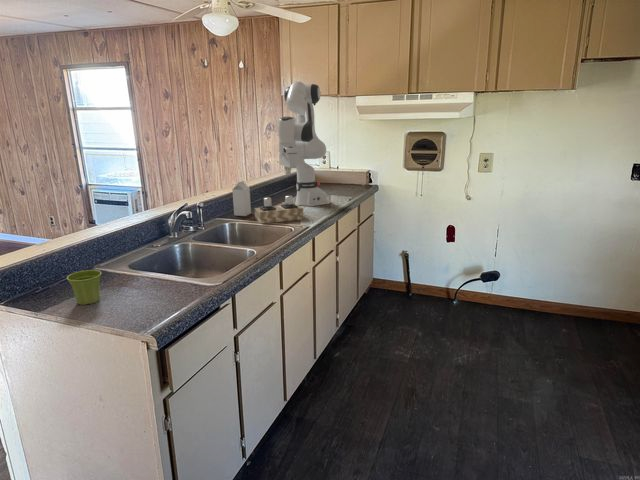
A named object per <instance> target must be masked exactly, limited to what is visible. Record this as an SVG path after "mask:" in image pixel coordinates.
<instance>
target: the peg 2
mask: <svg viewBox="0 0 640 480" xmlns="http://www.w3.org/2000/svg"><path fill="white" fill-rule="evenodd" d="M284 200H285V201H284V202H285V204H286V207H287V206H293V204H294V198H293V195H285V197H284Z"/></svg>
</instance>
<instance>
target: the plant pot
mask: <svg viewBox="0 0 640 480" xmlns="http://www.w3.org/2000/svg"><path fill="white" fill-rule="evenodd" d="M101 276H102V271H101V270H97V269H87V270H80V271H76V272H73V273H71V274H69V275H67V276H66V280H67V281H68V282H69V284H70V286H71V288H72V291H73V294H74V296H75V301H76V303H77V304H78V305H80V306H81V305H82V306H83V305H84V306H85V305H87V304H95V303H97V302H99V300H100V282H101V281H100V280H101Z"/></svg>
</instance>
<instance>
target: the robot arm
mask: <svg viewBox="0 0 640 480" xmlns="http://www.w3.org/2000/svg"><path fill="white" fill-rule="evenodd" d="M321 93H322V92H321V89H320V86H319V85H318V84H314V83H311V84H307V83H303V82H302V81H294V82H293V83H292V84H290V86H287V87H286V88H285V90H284V93H283V97H284V100H285V102H286V107H287V109H288V110H289V111H290V112H292V113H293V114H296V122H295V119H294V117H292V116H282V117H280V118H279V119H278V128H277V129H278V137H279V139H278V140H279V141H278V152H279V156H278V157H279V159H278V160H279V162H278V163H279V165H280V166H282V167H284V170H285V171H284V172H285V175H287V176H291V172H292V169H295V170H296V183H295V185H296V198H295V202H294V204H297V205H298V206H303V207H304V206H305V207H306V206H307V207H315V206H321V205H329V204H331V203H332V202H331V200H330V199H328V197H327V196H328V195H327V193H326V192H325V191H324V190H322V188H319V186H321V182H319V181H316V179H315V177H316V174H315V173H316V172H315V171H316V170H315V167H313V166H312V165H311V164H308V163H306V160H317V159H322V158H324V157H325V156H326V154H327V146H326V144H325V142H323V141H322V140H321V139H320V138H319V137H318V136H317V133H316V128H315V126H316V125H315V124H316V123H315V109H314V108H315V107H314V106H316V104H317V103H319V101H320V99H321V95H322V94H321Z"/></svg>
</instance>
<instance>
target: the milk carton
mask: <svg viewBox="0 0 640 480" xmlns="http://www.w3.org/2000/svg"><path fill="white" fill-rule="evenodd" d="M250 190H251V189H250V186H248V185H247V184H246V183H245V181H244V180H242V181H238V182H237V183H236V184H235V186H234V187H233V188H232V191H231V192H232V204H233V214H234V215H233V216H236V217H237V216H238V217H239V216H240V217H246V216H249V215H250V214H252V207H251V206H252V205H251V191H250Z"/></svg>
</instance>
